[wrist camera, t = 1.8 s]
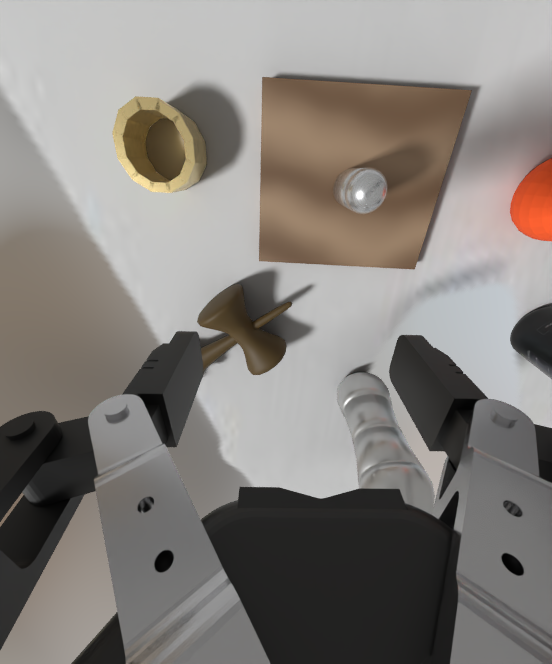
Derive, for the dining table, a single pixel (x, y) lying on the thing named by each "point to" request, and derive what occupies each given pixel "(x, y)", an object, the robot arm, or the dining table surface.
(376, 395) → the plastic bottle
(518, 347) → the supplement bottle
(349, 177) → the steel post
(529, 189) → the clementine
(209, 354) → the kendama
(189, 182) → the brass ring
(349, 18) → the dining table surface
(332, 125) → the walnut base plate
